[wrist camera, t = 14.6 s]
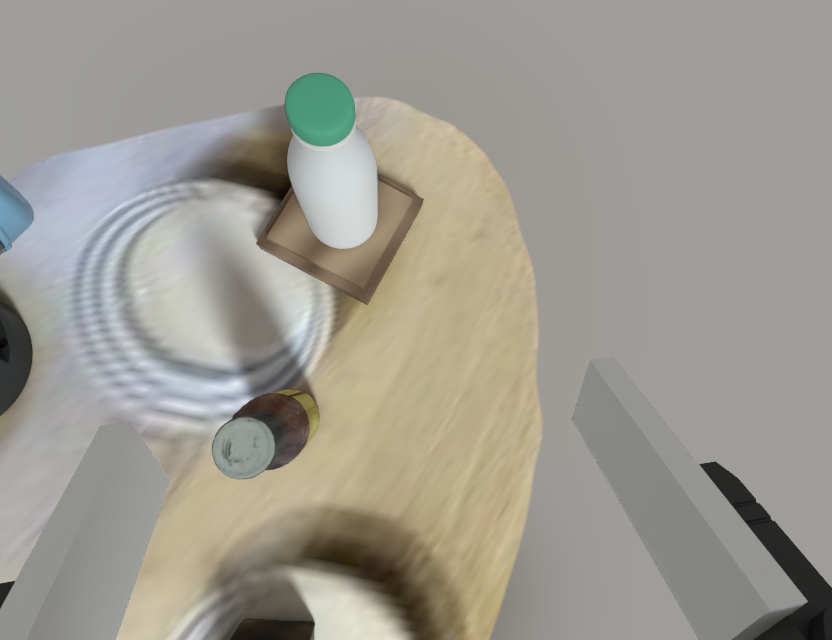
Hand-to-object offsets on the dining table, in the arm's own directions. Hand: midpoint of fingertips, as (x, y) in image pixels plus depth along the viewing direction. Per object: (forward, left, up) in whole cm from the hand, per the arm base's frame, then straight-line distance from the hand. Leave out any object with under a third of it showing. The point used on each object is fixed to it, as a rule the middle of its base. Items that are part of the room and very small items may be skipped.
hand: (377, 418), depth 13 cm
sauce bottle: (-7, -7, -36) cm, 37 cm away
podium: (-13, +15, -36) cm, 41 cm away
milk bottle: (-12, +15, -33) cm, 38 cm away
